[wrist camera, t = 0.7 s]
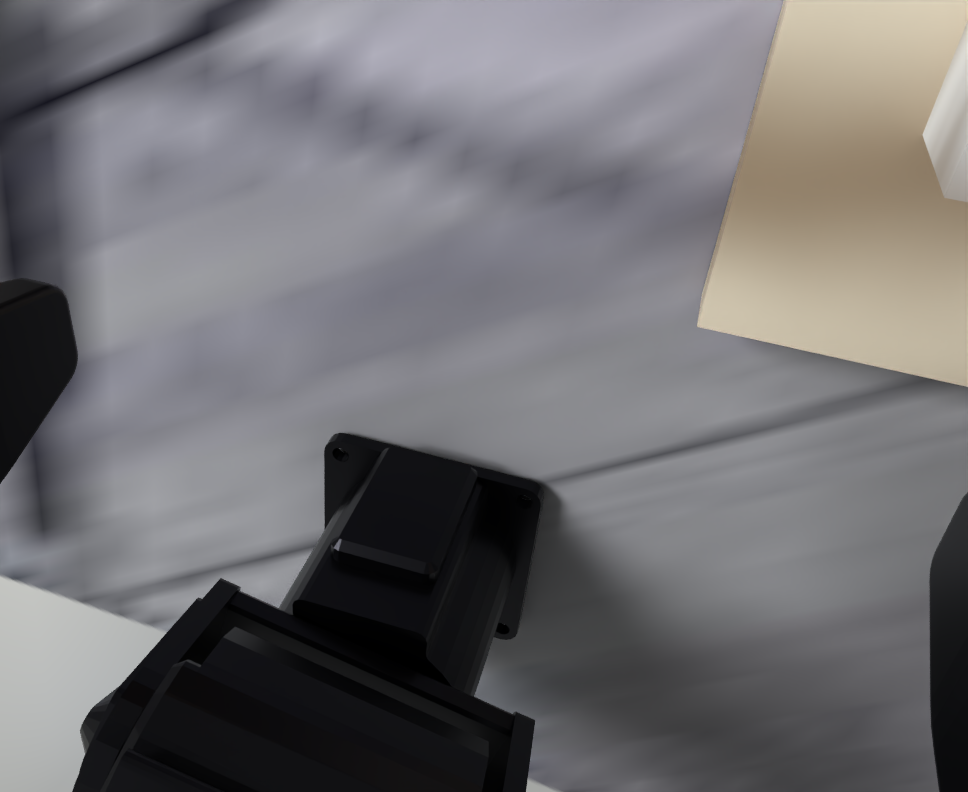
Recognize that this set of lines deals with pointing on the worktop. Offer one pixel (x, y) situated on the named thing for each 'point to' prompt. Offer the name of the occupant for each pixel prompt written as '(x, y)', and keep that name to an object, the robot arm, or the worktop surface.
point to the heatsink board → (854, 190)
